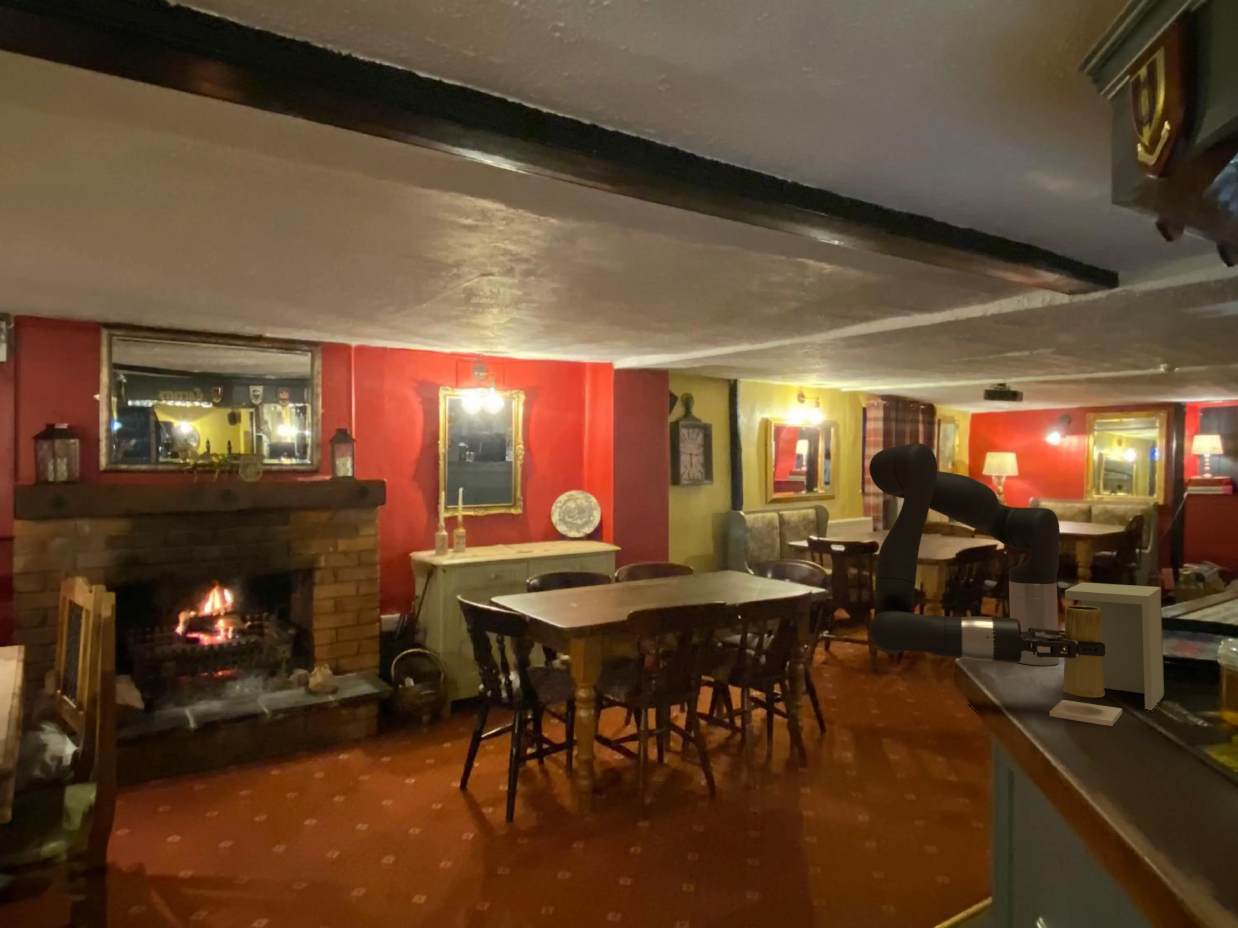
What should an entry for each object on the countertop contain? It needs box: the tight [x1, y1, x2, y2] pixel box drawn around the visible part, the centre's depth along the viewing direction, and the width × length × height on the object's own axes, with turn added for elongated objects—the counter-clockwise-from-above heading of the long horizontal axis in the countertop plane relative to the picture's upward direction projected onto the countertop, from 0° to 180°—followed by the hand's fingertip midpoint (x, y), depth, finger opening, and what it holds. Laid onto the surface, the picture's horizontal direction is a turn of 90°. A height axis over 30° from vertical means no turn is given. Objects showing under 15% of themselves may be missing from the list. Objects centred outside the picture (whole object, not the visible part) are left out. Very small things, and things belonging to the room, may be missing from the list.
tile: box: [1049, 699, 1123, 727], centre depth 135 cm, size 9×9×1 cm
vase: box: [1062, 604, 1106, 698], centre depth 136 cm, size 6×6×14 cm
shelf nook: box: [1064, 581, 1165, 710], centre depth 146 cm, size 14×13×20 cm
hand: (1100, 645), depth 135 cm, fingers closed on vase, 5 cm apart
